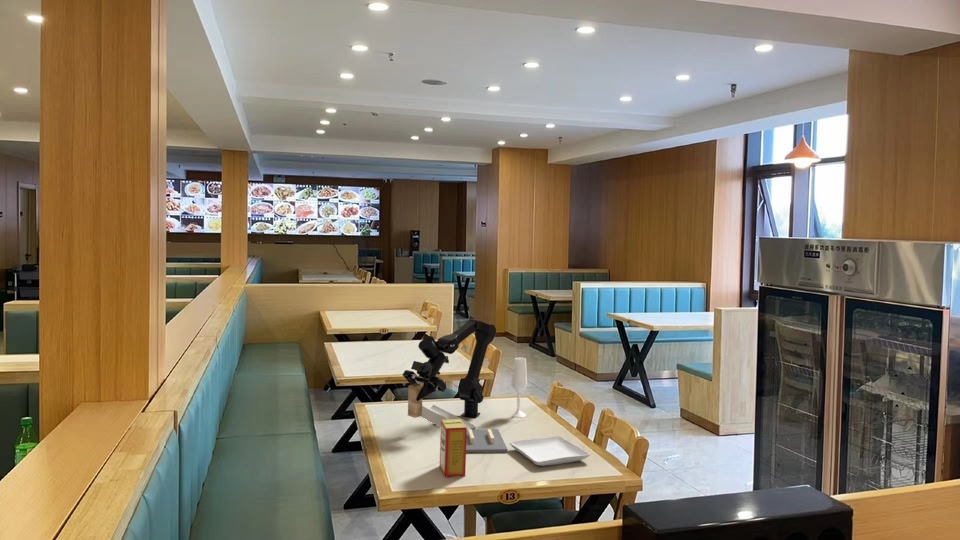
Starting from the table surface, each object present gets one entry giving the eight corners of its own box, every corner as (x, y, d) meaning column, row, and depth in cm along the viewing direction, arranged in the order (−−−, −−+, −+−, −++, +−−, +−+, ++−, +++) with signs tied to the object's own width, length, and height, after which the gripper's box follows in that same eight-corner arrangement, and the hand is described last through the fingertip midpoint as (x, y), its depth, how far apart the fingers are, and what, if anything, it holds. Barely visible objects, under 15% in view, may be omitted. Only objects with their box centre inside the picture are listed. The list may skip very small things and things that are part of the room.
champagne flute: (510, 411, 275) (513, 356, 273) (526, 413, 274) (528, 357, 272) (509, 416, 268) (511, 359, 267) (525, 417, 267) (527, 360, 266)
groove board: (456, 432, 245) (456, 424, 245) (497, 432, 247) (498, 424, 247) (461, 453, 224) (462, 444, 223) (507, 452, 226) (507, 443, 225)
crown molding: (475, 430, 251) (476, 421, 251) (449, 435, 244) (449, 426, 244) (435, 409, 277) (435, 401, 276) (410, 413, 270) (411, 405, 270)
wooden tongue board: (414, 413, 244) (415, 382, 244) (421, 415, 242) (422, 384, 241) (407, 415, 242) (408, 384, 241) (415, 417, 239) (416, 386, 238)
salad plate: (507, 450, 229) (508, 440, 229) (559, 443, 238) (559, 434, 237) (535, 471, 210) (536, 461, 210) (591, 464, 218) (591, 454, 218)
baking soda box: (465, 476, 203) (466, 426, 202) (444, 477, 202) (446, 427, 200) (459, 465, 212) (460, 417, 211) (439, 466, 211) (441, 418, 210)
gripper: (406, 349, 249) (384, 382, 241) (442, 356, 237) (420, 391, 230) (420, 366, 256) (399, 398, 248) (455, 374, 244) (434, 408, 236)
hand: (412, 399), depth 240 cm, fingers closed on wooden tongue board, 4 cm apart
